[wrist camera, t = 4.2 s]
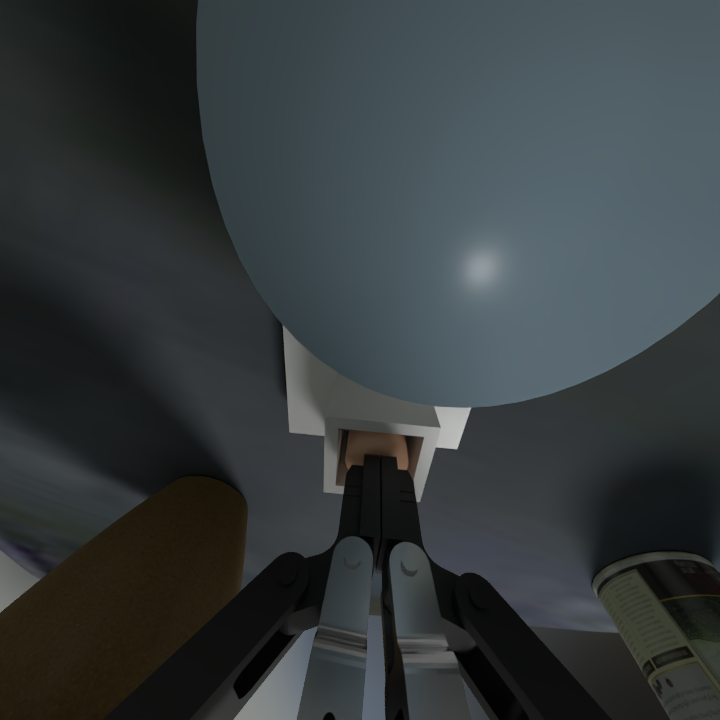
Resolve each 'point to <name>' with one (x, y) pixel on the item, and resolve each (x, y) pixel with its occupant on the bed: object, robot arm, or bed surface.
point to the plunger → (375, 447)
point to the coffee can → (669, 626)
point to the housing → (361, 416)
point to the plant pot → (122, 603)
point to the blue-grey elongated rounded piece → (468, 181)
